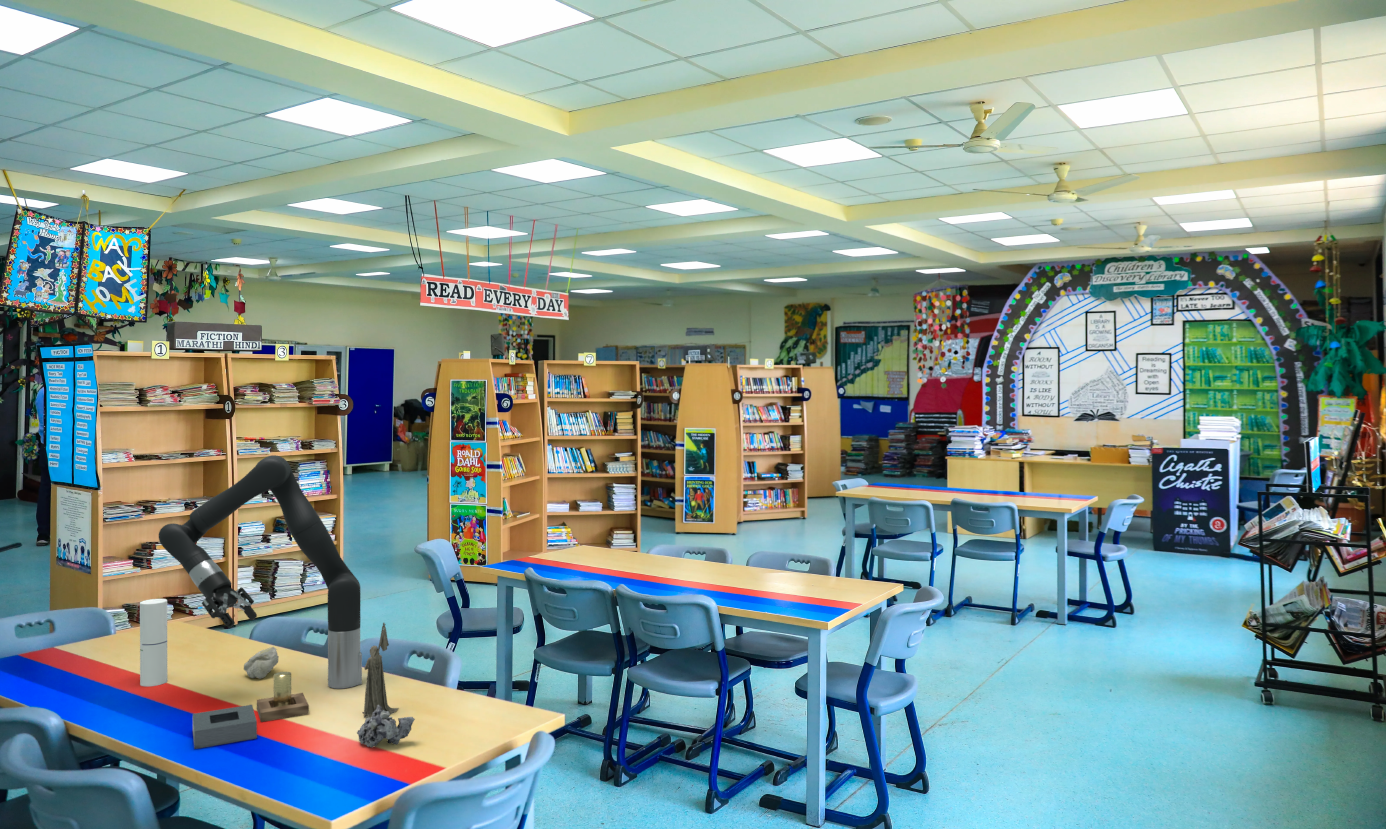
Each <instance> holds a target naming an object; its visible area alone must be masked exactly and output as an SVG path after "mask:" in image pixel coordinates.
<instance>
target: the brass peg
mask: <svg viewBox="0 0 1386 829" xmlns="http://www.w3.org/2000/svg"><path fill="white" fill-rule="evenodd" d="M291 694H292V672H291V671H280V672H275V673H274V674H273V697H274V707H281V706H287V705H291Z"/></svg>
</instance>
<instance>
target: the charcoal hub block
mask: <svg viewBox="0 0 1386 829" xmlns="http://www.w3.org/2000/svg"><path fill="white" fill-rule="evenodd" d="M257 723H258V722H257V717H256V714H255V711H254V707H253V704H247V705H240V706H236V707H235V706H233V707H227V708H221V709H216V710H210V711H209V710H207V711H202V712H197V713H192V736H193V748H194V750H197V749H202V748H203V749H204V748H208V747H209V748H210V747H214V746H215V747H216V746H220V745H227V744H232V743H233V744H234V743H238V742H244V741H250V740H255V739H257V738H258V731H257V729H258V727H257V726H258V725H257Z"/></svg>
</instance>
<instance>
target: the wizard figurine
mask: <svg viewBox="0 0 1386 829" xmlns="http://www.w3.org/2000/svg"><path fill="white" fill-rule="evenodd" d="M380 632H381V633H380V636H379V637H380V638H379V642H378V646H377V645H372V646H371V647H370V649H369V655H370V657H368V658H367V660H366V663H365V666H364V670H365V671H366V670H367V675H366V684H365V695H364V703H363V704H364V706H363V711H362V714H364V715H363V719H366V718H368V717H372V714H373V712H374V711H375V710H376V709H377V705H380V706H381V707H382V710H384V711H386V712H387V711H389V714H390V716H391V715H393V714H395V713H396V712H397V711H398V709H399V707H391V706H389V704H388V697H387V691H386V690H387V688H386V682H385V681H386V680H385V673H384V672H385V671H384V665H383V655H381V654H380V650H382V652H386V651H387V650H388V647H389V646H390V643H389V640H388V632H387V628H386V623H385V622H383V623H382V627H381V631H380ZM380 648H381V649H380Z"/></svg>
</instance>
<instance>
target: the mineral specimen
mask: <svg viewBox="0 0 1386 829" xmlns="http://www.w3.org/2000/svg"><path fill="white" fill-rule="evenodd" d="M364 719H365V720H364V723H362V724H361V726H360V728H359V729H358V730H357V732H356V734H357V736H358V742H360V744H361V745H363V746H366V747H370V748H374V747H377V745H378V743H380V742H381V741H383V740H384V739H385V740H386V739H387V741H386V743H387V744H388V745H391V744H392V745H397V746H398V745H399V744H400V741H401V740H402V739H405V738H407V737H408V736H409V734H410V733H411V731H412V726H413V724H414V721H415V720H416V718H415V717H413V716H406V717H398V718H397V720H398V724H397V721H396V719H395V718H393V716H391V715H390V714H389V711H387V712H386V711H384V710H382V707H381V706H380V705H377V709H376V710H375V711H374V712H373V714H372V717H367V718H364Z"/></svg>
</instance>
